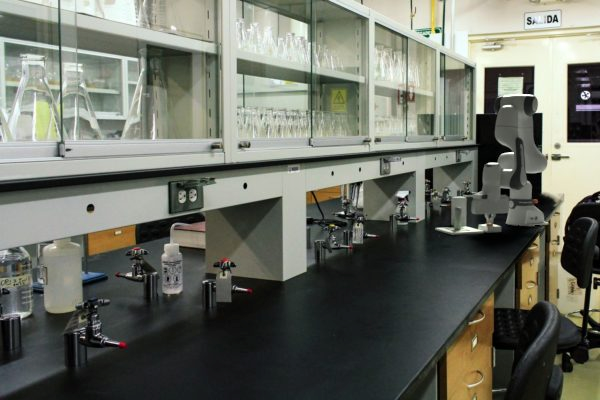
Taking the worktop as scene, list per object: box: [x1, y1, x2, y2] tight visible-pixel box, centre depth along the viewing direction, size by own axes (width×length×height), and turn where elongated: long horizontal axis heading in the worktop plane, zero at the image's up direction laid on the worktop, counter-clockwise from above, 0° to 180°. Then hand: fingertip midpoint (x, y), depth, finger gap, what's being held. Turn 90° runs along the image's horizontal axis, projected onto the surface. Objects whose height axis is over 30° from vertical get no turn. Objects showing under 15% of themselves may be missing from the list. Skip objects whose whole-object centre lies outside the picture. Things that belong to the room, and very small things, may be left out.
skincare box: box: [450, 195, 467, 227], centre depth 329 cm, size 8×7×16 cm
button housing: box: [477, 223, 502, 234], centre depth 312 cm, size 8×8×3 cm
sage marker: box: [454, 207, 462, 230], centre depth 310 cm, size 3×3×11 cm
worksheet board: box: [434, 225, 485, 236], centre depth 311 cm, size 18×16×1 cm
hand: (489, 222), depth 311 cm, fingers closed
